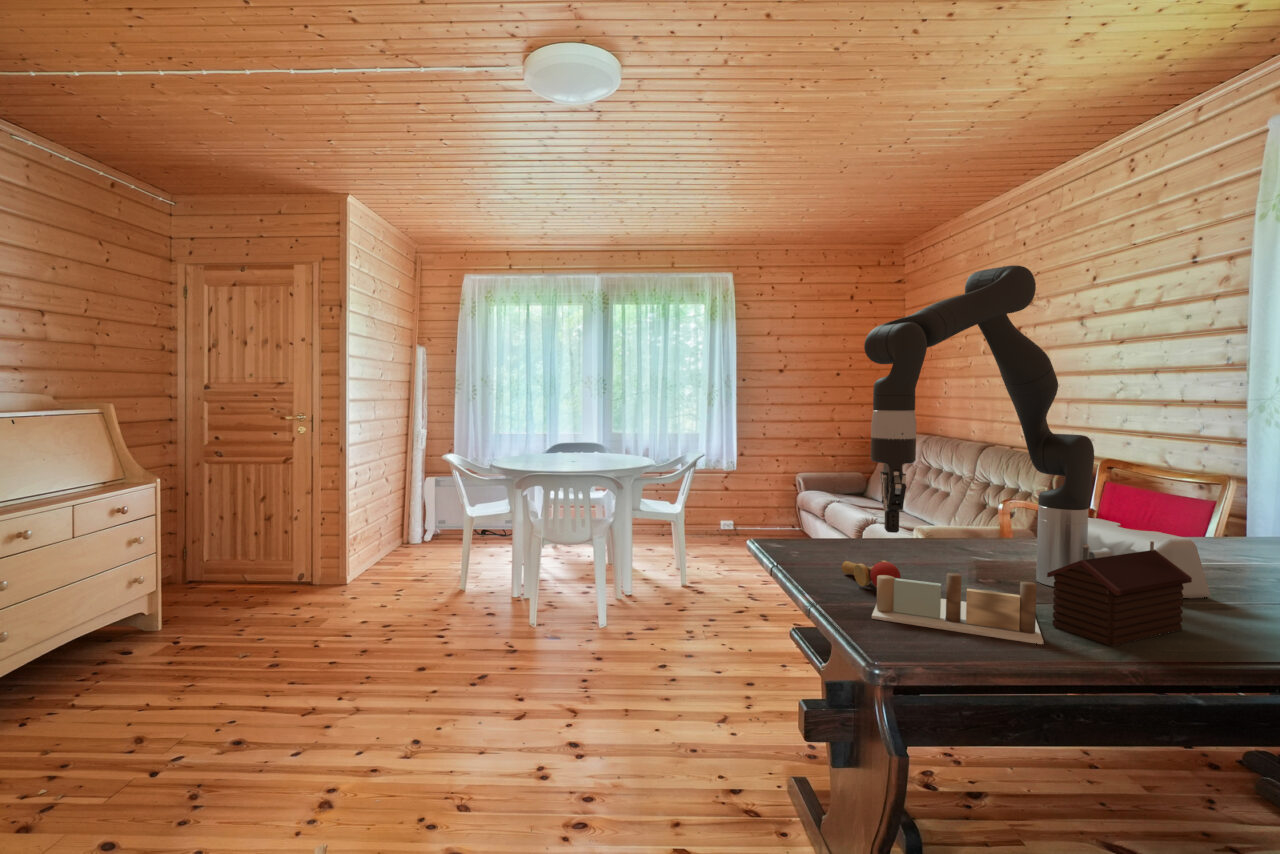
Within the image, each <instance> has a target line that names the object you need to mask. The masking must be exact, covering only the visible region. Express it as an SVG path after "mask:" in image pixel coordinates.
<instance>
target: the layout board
mask: <svg viewBox="0 0 1280 854" xmlns="http://www.w3.org/2000/svg"><path fill="white" fill-rule="evenodd" d="M871 619H873V620H879V621H885V622H893V623H899V624H906V625H910V626H911V625H912V626H917V627H918V626H919V627H924V628H926V627H927V628H931V629H932V628H933V629H937V630H945V631H951V632H958V633H963V634H964V633H965V634H969V635H970V634H971V635H976V636H984V637H992V638H997V639H1002V640H1003V639H1004V640H1010V641H1017V642H1022V643H1028V644H1029V643H1030V644H1036V643H1037V644H1038V645H1042V644H1043V645H1044V639H1043V636H1042V633H1041V630H1040V627H1039V624H1038V622H1037V620H1036V623H1035V633H1034V634H1030V633H1025V632H1021V631H1020V630H1019V631H1016V630H1009V629H1002V628H995V627H988V626H982V625H975V624H968V623H966V601H964V600H961V618H960V622H950V621H947V620H946V598H941V610H940V618H936V617H929V616H922V615H915V614H908V613H901V612H894V611H893V612H884V611H880V610H878V609H877V603H876V604H875V607H874V609H873V611H872V614H871Z"/></svg>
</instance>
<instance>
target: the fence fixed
mask: <svg viewBox="0 0 1280 854" xmlns="http://www.w3.org/2000/svg"><path fill="white" fill-rule="evenodd" d="M945 587H946V588H945V589H946V591H945V599H946V620H947V621H950V622H960V618H961V601H962V575H961V574H960V573H954V572H947V573H946V586H945ZM1037 587H1038V586H1037V583H1035V582H1032V581H1026V580H1025V581H1020V582H1019V594H1015V593H1007V592H1006V593H1005V592H999V591H998V592H997V591H990V590H983V589H974V588H966V601H965V602H966V623H968V624H975V625H982V626H988V627H995V628H1002V629H1009V630H1016V631H1019V630H1020V631H1021V632H1025V633H1030V634H1034V633H1035V623H1036V621H1037V618H1036V615H1037V614H1036V613H1037V612H1036V611H1037Z"/></svg>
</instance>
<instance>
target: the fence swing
mask: <svg viewBox="0 0 1280 854" xmlns="http://www.w3.org/2000/svg"><path fill="white" fill-rule="evenodd" d="M941 597H942V583H940V582H938V583H937V582H930V581H923V580H921V581H920V580H913V579H907V578H906V579H905V578H901V579H898V578H895V577H892V576H888V575H879V576H877V587H876V604H877V609H878V610H880V611H884V612H893V611H894V612H901V613H908V614H915V615H922V616H929V617H936V618H940V610H941V599H942V598H941Z"/></svg>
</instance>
